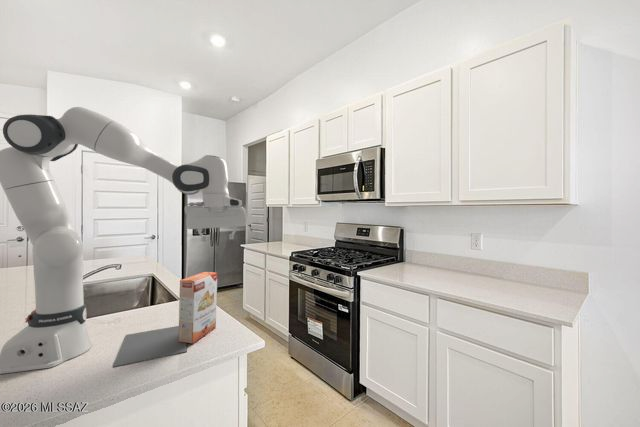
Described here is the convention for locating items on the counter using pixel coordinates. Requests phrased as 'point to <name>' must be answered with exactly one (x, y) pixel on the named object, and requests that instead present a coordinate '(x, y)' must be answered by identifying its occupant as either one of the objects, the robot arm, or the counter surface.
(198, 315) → the cracker box
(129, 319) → the counter surface
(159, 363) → the counter surface
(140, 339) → the mat
